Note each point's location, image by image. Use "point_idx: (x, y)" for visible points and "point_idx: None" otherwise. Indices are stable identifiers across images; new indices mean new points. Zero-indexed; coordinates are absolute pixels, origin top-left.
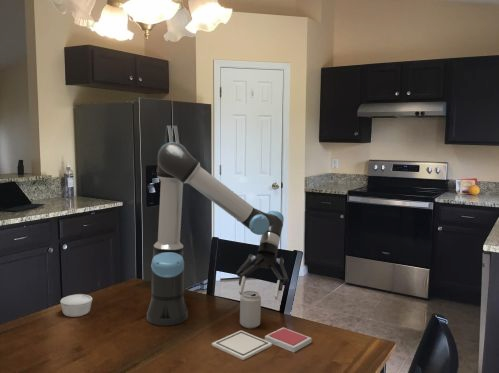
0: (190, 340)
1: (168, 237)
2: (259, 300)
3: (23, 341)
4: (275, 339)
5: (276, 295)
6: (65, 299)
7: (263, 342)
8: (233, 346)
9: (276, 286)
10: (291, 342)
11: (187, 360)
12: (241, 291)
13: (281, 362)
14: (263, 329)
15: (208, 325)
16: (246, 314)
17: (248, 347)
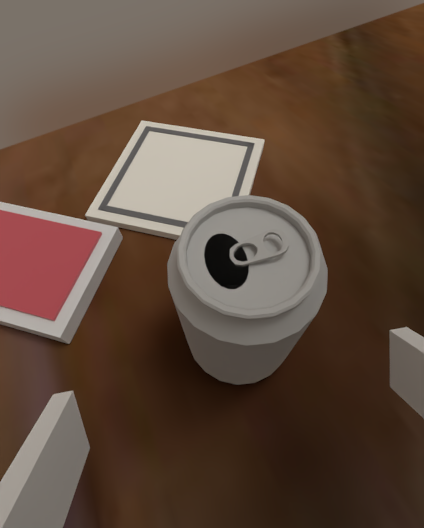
0: (338, 142)
1: None
2: (169, 262)
3: None
4: (72, 222)
5: (51, 400)
6: None
7: (115, 206)
8: (195, 149)
9: (24, 480)
10: (6, 221)
11: (266, 81)
12: (398, 351)
13: (40, 156)
14: (161, 322)
15: (382, 245)
16: (234, 255)
17: (150, 162)
